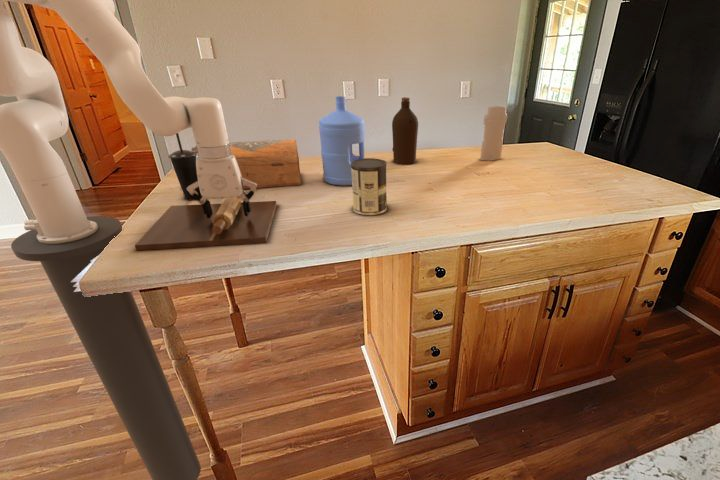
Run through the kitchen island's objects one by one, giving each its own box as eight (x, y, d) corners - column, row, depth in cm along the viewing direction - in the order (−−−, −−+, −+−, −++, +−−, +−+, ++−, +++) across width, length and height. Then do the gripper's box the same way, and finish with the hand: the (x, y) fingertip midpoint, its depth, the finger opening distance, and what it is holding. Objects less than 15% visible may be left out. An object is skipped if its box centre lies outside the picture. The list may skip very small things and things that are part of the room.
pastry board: (136, 250, 94) (134, 245, 93) (172, 210, 116) (170, 205, 115) (266, 242, 98) (265, 237, 97) (276, 205, 120) (276, 200, 120)
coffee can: (377, 200, 125) (376, 156, 118) (392, 211, 117) (393, 164, 110) (347, 206, 120) (344, 160, 113) (361, 218, 112) (359, 169, 105)
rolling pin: (209, 238, 96) (205, 222, 94) (229, 204, 117) (226, 189, 115) (228, 237, 97) (224, 221, 95) (245, 203, 117) (242, 189, 115)
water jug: (320, 186, 136) (312, 99, 122) (326, 173, 150) (319, 94, 136) (365, 186, 137) (362, 100, 123) (367, 173, 150) (364, 94, 136)
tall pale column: (481, 161, 168) (487, 106, 157) (477, 158, 171) (483, 104, 160) (503, 159, 170) (511, 105, 159) (499, 157, 174) (506, 104, 163)
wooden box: (299, 172, 151) (295, 135, 144) (302, 185, 137) (297, 145, 130) (216, 177, 144) (207, 138, 137) (209, 192, 130) (199, 149, 123)
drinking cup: (211, 195, 127) (196, 131, 117) (192, 203, 121) (174, 136, 111) (195, 191, 130) (178, 129, 120) (175, 199, 124) (156, 133, 114)
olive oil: (421, 160, 167) (424, 97, 155) (408, 166, 159) (409, 100, 147) (401, 157, 172) (402, 95, 160) (387, 162, 165) (386, 98, 152)
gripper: (172, 156, 93) (190, 222, 102) (248, 154, 96) (260, 219, 104) (182, 149, 100) (198, 211, 108) (253, 147, 102) (263, 208, 111)
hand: (228, 215), depth 106 cm, fingers open, 9 cm apart
